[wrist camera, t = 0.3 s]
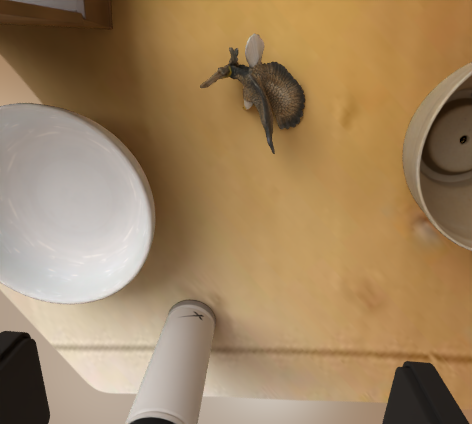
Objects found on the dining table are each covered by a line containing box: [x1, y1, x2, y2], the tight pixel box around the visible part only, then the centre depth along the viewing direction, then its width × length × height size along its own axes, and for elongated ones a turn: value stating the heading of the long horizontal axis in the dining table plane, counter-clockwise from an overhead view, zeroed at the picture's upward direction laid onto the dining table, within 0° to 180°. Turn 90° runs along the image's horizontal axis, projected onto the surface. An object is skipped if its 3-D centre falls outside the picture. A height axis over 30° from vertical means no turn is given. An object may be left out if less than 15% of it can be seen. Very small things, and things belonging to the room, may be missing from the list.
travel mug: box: [125, 300, 216, 424], centre depth 36 cm, size 6×7×20 cm
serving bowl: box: [0, 103, 155, 304], centre depth 37 cm, size 21×21×7 cm
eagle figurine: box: [200, 34, 305, 154], centre depth 33 cm, size 8×7×9 cm
